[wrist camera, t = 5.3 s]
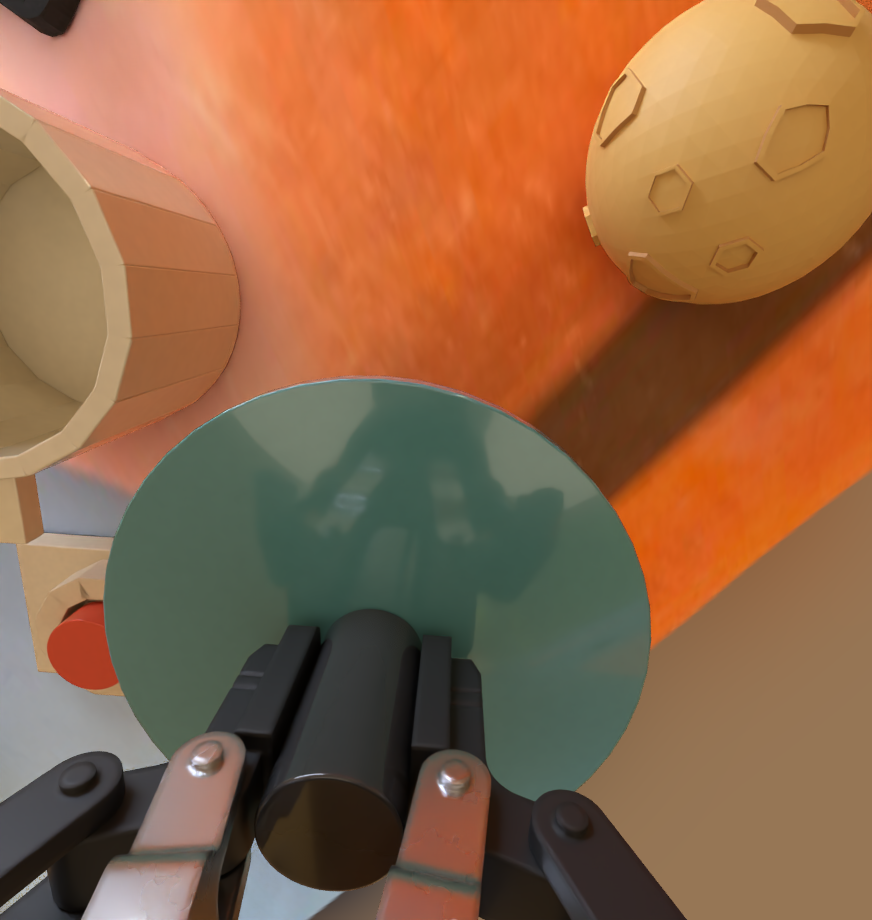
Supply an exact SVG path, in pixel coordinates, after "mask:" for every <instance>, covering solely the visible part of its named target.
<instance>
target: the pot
mask: <svg viewBox="0 0 872 920" xmlns="http://www.w3.org/2000/svg"><path fill="white" fill-rule="evenodd" d="M239 321H240V293H239V283H238V278H237V274H236V269H235V265H234V262H233V259H232V256H231V253H230V250H229V247H228V245H227V243H226V241H225V239H224V237H223V235H222V232H221V230H220V228H219V227H218V225H217V223H216V222H215V220H214V219H213V217H212V216H211V214H210V213H209V211H208V210H207V208H206V207H205V206H204V205H203V203H202V202H201V201H200V200H199V199H198V197H197V196H196V195H195V194H194V193H193V192H192V191H191V190H190V189H189V188H188V187H187V186H186V185H185V184H184V183H183V182H182V181H181V180H180V179H178V178H177V177H176V176H174V175H173V174H172V173H170V172H169V171H168V170H166V169H165V168H164V167H162V166H160V165H158V164H157V163H155V162H153V161H152V160H150V159H148V158H147V157H145V156H144V155H143V154H141V153H140V152H138V151H136V150H134V149H132V148H130V147H128V146H125V145H123V144H121V143H119V142H117V141H115V140H112V139H110V138H108V137H106V136H104V135H102V134H99V133H97V132H95V131H93V130H91V129H89V128H86V127H84V126H82V125H80V124H78V123H75V122H73V121H71V120H69V119H67V118H65V117H62V116H60V115H58V114H56V113H54V112H52V111H49V110H47V109H45V108H43V107H41V106H39V105H36V104H34V103H32V102H30V101H28V100H26V99H23V98H21V97H19V96H17V95H15V94H12V93H10V92H8V91H6V90H4V89H2V88H0V543H14V544H27V543H29V542H31V541H32V540H34V539H36V538H38V537H39V536H41V535H43V534H44V530H43V524H42V517H41V511H40V504H39V498H38V492H37V485H36V479H35V473H38V472H40V471H43V470H45V469H47V468H50V467H52V466H54V465H57V464H59V463H61V462H64V461H66V460H68V459H71V458H73V457H76V456H78V455H80V454H83V453H85V452H87V451H90V450H92V449H94V448H97V447H99V446H102V445H104V444H106V443H109V442H111V441H113V440H116V439H118V438H120V437H123V436H125V435H128V434H130V433H132V432H135V431H137V430H139V429H142V428H144V427H146V426H149V425H151V424H153V423H156V422H158V421H161V420H162V419H164V418H166V417H168V416H170V415H172V414H174V413H176V412H178V411H180V410H182V409H184V408H186V407H187V406H189V405H191V404H193V403H195V401H197V400H198V399H199V398H200V397H201V396H202V395H203V394H205V393H206V392H207V391H208V390H209V389H210V387H211V386H212V385H213V384H214V383H215V382H216V381H217V379H218V378H219V376H220V375H221V373H222V371H223V370H224V368H225V367H226V365H227V363H228V360H229V358H230V356H231V354H232V352H233V348H234V345H235V341H236V338H237V334H238V327H239Z"/></svg>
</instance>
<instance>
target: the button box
mask: <svg viewBox="0 0 872 920" xmlns="http://www.w3.org/2000/svg"><path fill="white" fill-rule="evenodd" d="M113 539H114V538H110V537H95V536H81V535H67V534H53V533H44V534H43V535H41V536H39V537H38V538H36V539H34V540H32V541H31V542H29V543H27V544H16V547H17V553H18V559H19V564H20V570H21V576H22V582H23V587H24V593H25V599H26V605H27V610H28V616H29V622H30V628H31V633H32V639H33V645H34V651H35V656H36V662H37V668H38V671H39V672H51V673H57V672H56V670H55V669H54V668H53V666H52V664H51V663H50V660H49V658H48V654H47V642H48V639H49V636H50V634H51V633H52V631H53V630H54V629H55V628H56V627H57V626H58V625H60V624H61V623H62V622H63V621H64V620H66V619H67V618H68V617H69V616H70V615H72V614H73V613H74V612H75V611H76V610H78V609H79V608H80V607H82V606H83V605H85V604H88V603H91V602H97V601H103V596H104V585H105V574H106V567H107V563H108V559H109V555H110V551H111V547H112V543H113ZM84 689H85V688H84ZM86 690H88V691H90V692H92V693H95V694H101V695H115V696H124V694H123V692H122V690H121V687H120V684H119V683H117V684H116V685H114V686H112V687H109V688H106V689H101V690H90V689H86Z"/></svg>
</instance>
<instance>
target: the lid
mask: <svg viewBox="0 0 872 920" xmlns="http://www.w3.org/2000/svg"><path fill="white" fill-rule="evenodd" d="M103 607H104V623H105V634H106V638H107V643H108V648H109V653H110V657H111V662H112V665H113V667H114V670H115V673H116V676H117V679H118V681H119V684H120V687H121V690H122V692H123V694H124V696H125V698H126V699H127V701H128V703H129V705H130V707H131V709H132V711H133V713H134V715H135V717H136V718H137V720H138V721H139V723H140V724H141V726H142V727H143V729H144V730H145V732H146V733H147V734H148V736H149V737H150V739H151V740H152V742H153V743H154V744H155V745H156V746H157V748H158V749H159V750H160V751H161V752H162V753H163V754H164V756H165V757H166V758H167V759H168V760H169V761H170V759H171V757H172V755H173V754H174V753H175V751H176V750H177V749H178V748H179V747H180V746H181V745H183V744H184V743H185V742H187V741H188V740H190V739H192V738H194V737H196V736H198V735H201V734H204V733H205V732H206V730H207V728H208V727H209V725H210V723H211V722H212V720H213V718H214V716H215V715H216V713H217V711H218V709H219V708H220V706H221V704H222V702H223V701H224V699H225V697H226V696H227V694H228V692H229V690H230V689H231V688H232V687H233V683H234V682H235V680H236V678H237V676H238V675H240V671H241V669H242V668H243V666H244V664H245V663H246V661H247V659H248V657H249V656H250V655H252V654H253V653H254V652H255V651H257V650H258V649H259V648H260V647H262V646H263V645H264V644H274V645H279V643H280V641H281V639H282V637H283V635H284V633H285V631H286V629H287V627H288V626H289V625H302V626H316V627H319V628H320V632H321V647H320V649H319V652H318V655H317V657H316V660H315V662H314V665H313V667H312V670H311V672H310V675H309V677H308V680H307V683H306V685H305V688H304V690H303V693H302V695H301V698H300V700H299V703H298V706H297V708H296V711H295V713H294V716H293V718H292V721H291V723H290V726H289V729H288V731H287V734H286V736H285V739H284V741H283V744H282V746H281V749H280V751H279V754H278V757H277V759H276V762H275V764H274V767H273V769H272V772H271V774H270V777H269V780H268V782H267V785H266V787H265V790H264V792H263V795H262V797H261V800H260V803H259V805H258V808H257V810H256V813H255V818H254V832H255V838H256V842H257V845H258V847H259V849H260V851H261V853H262V854H263V856H264V857H265V859H266V860H267V861H268V862H269V863H270V865H271V866H272V867H274V868H275V869H276V870H277V871H278V872H279V873H281V874H282V875H284V876H285V877H287V878H289V879H290V880H292V881H294V882H297V883H299V884H301V885H304V886H307V887H310V888H314V889H319V890H325V891H349V890H355V889H359V888H363V887H366V886H368V885H371V884H374V883H376V882H377V881H379V880H381V879H382V878H384V877H385V876H386V875H388V872H389V870H390V867H391V866H392V865H396V862H397V858H398V854H399V851H400V847H401V843H402V839H403V835H404V831H405V827H406V823H407V819H408V813H409V803H410V784H409V780H410V762H411V745H412V735H413V726H414V716H415V707H416V697H417V688H418V678H419V669H420V659H421V650H422V640H423V635H435V636H448V637H452V645H451V658H459V659H472V661H473V662H474V664H475V665H476V667H477V669H478V670H479V672H480V673H481V682H482V699H483V717H484V734H485V751H486V761H487V765H488V768H489V770H490V772H491V774H492V775H493V777H494V778H495V779H496V780H497V781H498V782H499V783H500V784H501V785H502V786H503V787H505V788H506V789H508V790H509V791H511V792H513V793H515V794H517V795H520V796H522V797H525V798H527V799H530V800H533V801H536V800H537V799H538V798H539V797H540V796H541V795H542V794H544V793H546V792H548V791H552V790H559V789H562V790H570V791H574V792H575V791H576V790H577V789H578V788H579V787H580V786H582V785H583V784H584V783H585V782H586V781H587V780H588V779H589V778H590V777H591V776H592V775H593V774H594V773H595V772H596V771H597V769H598V768H599V767H600V766H601V765H602V763H603V762H604V761H605V760H606V759H607V757H608V756H609V755H610V754H611V752H612V751H613V749H614V747H615V746H616V745H617V743H618V741H619V740H620V738H621V737H622V735H623V734H624V732H625V730H626V729H627V726H628V724H629V722H630V720H631V718H632V715H633V713H634V711H635V709H636V706H637V704H638V702H639V699H640V695H641V692H642V688H643V685H644V681H645V678H646V674H647V669H648V660H649V653H650V645H651V620H650V604H649V599H648V594H647V588H646V583H645V578H644V574H643V571H642V568H641V565H640V562H639V560H638V557H637V554H636V551H635V548H634V545H633V543H632V541H631V539H630V537H629V535H628V533H627V531H626V529H625V528H624V526H623V524H622V522H621V520H620V518H619V516H618V514H617V513H616V511H615V510H614V508H613V507H612V505H611V504H610V503H609V501H608V500H607V499H606V497H605V496H604V494H603V493H602V492H601V490H600V489H599V488H598V486H597V485H596V484H595V482H594V481H593V479H592V478H591V477H590V475H589V474H588V473H587V472H586V471H585V470H584V469H583V468H582V467H581V466H580V465H579V464H578V463H577V462H576V461H575V460H574V459H573V458H572V457H571V456H570V455H569V454H568V453H567V452H566V451H565V450H564V449H563V448H562V447H560V446H559V445H558V444H556V443H555V442H554V441H552V440H551V439H550V438H549V437H547V436H546V435H545V434H543V433H542V432H541V431H540V430H538V429H537V428H536V427H534V426H533V425H531V424H529V423H528V422H526V421H524V420H522V419H521V418H519V417H517V416H516V415H514V414H512V413H510V412H509V411H507V410H505V409H503V408H502V407H500V406H498V405H495V404H493V403H490V402H488V401H485V400H483V399H481V398H478V397H476V396H473V395H471V394H468V393H466V392H464V391H460V390H457V389H453V388H449V387H445V386H442V385H438V384H434V383H430V382H426V381H421V380H414V379H406V378H398V377H391V376H338V377H331V378H323V379H316V380H309V381H303V382H300V383H296V384H293V385H289V386H285V387H282V388H278V389H274V390H271V391H268V392H265V393H263V394H261V395H258V396H256V397H254V398H252V399H249V400H247V401H245V402H242V403H240V404H238V405H235V406H233V407H231V408H229V409H227V410H225V411H224V412H222V413H221V414H219V415H217V416H216V417H214V418H212V419H211V420H209V421H208V422H206V423H204V424H203V425H201V426H200V427H198V428H196V429H195V430H193V431H192V432H191V433H190V434H189V435H188V436H186V437H185V438H184V439H183V440H182V441H181V442H179V443H178V444H177V445H176V446H175V447H173V448H172V449H171V450H170V451H169V452H168V453H167V454H166V455H165V456H164V457H163V458H162V459H161V460H160V462H159V463H158V464H157V465H156V466H155V467H154V469H153V470H152V471H151V472H150V473H149V474H148V475H147V477H146V478H145V479H144V480H143V482H142V484H141V485H140V487H139V488H138V490H137V492H136V493H135V495H134V496H133V498H132V500H131V501H130V503H129V504H128V506H127V508H126V510H125V513H124V515H123V517H122V520H121V522H120V524H119V527H118V529H117V531H116V534H115V536H114V539H113V543H112V547H111V551H110V555H109V559H108V563H107V567H106V574H105V585H104V596H103Z"/></svg>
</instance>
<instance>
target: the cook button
mask: <svg viewBox="0 0 872 920" xmlns="http://www.w3.org/2000/svg"><path fill="white" fill-rule="evenodd" d="M47 654H48V658H49V660H50V663H51V664H52V666H53V668H54V669H55V670H56V672H57V673H58V674H59V675H60V676H61V677H62V678H64V679H65V680H66V681H68V682H70V683H71V684H73V685H76V686H78V687H81V688H85V689H90V690H101V689H106V688H109V687H112V686H114V685H116V684H117V683H119V681H118V679H117V676H116V673H115V670H114V667H113V665H112V662H111V657H110V653H109V648H108V643H107V638H106V634H105V623H104V607H103V601H97V602H91V603H88V604H85V605H83V606H82V607H80V608H79V609H78V610H76V611H75V612H74V613H73V614H72V615H70V616H69V617H68V618H67V619H66V620H64V621H63V622H62V623H61V624H60V625H58V626H57V627H56V628H55V629H54V630H53V631H52V633H51V634H50V636H49V639H48V642H47Z"/></svg>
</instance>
